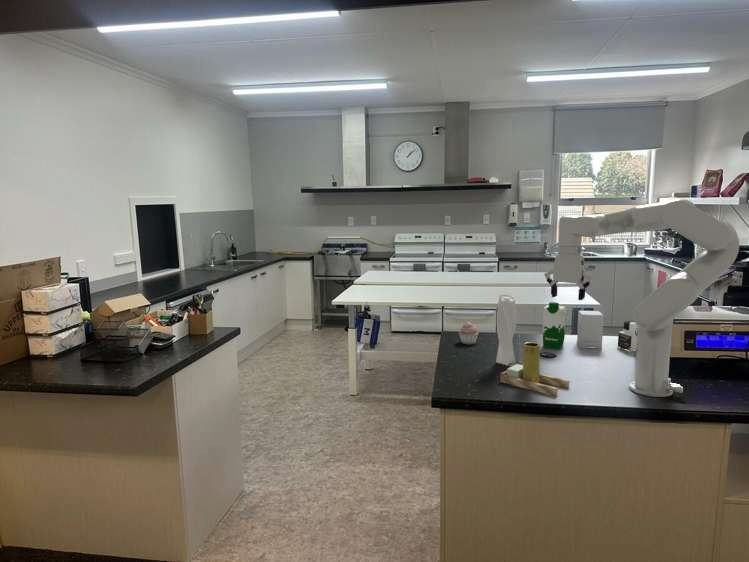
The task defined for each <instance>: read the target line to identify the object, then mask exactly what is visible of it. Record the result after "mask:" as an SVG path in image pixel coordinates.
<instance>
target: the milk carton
mask: <svg viewBox="0 0 749 562" xmlns="http://www.w3.org/2000/svg"><path fill="white" fill-rule="evenodd" d="M565 333H566V306H565V305H560V304H559V302H553V301H551V302H549V303H548V304H547V305H545V306H544V307H543V315H542V347H543V349H551V350H557V351H558V350H559V351H560V350H562V348H563V347H564V343H565V342H564V341H565V335H566V334H565ZM562 346H563V347H562Z"/></svg>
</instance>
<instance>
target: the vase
mask: <svg viewBox="0 0 749 562" xmlns="http://www.w3.org/2000/svg"><path fill="white" fill-rule="evenodd" d="M540 350H541V345H540V343H537V342H534V341H533V342H531V341H528V342H524V343H523V358H522V359H523V360H522V365H523V372H522V380H526V381H531V382H535V383H539V384H541V382H540V374H541V372H540V371H541V369H540V353H541V352H540Z"/></svg>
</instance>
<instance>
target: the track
mask: <svg viewBox="0 0 749 562" xmlns="http://www.w3.org/2000/svg"><path fill="white" fill-rule="evenodd" d="M499 382H500V383H502V382H503V383H504V384H506V383H507V385H510V384H511V386H515V387H518V388H523V389H527V390H529V389H530V390H531V391H533V390H534V391H533V392H537V391H538V393H543V394H546V395H549V394H550V396H553V395H554V397H558V393H559V392H558V391H559V389H558V387H560V386H562V387H561V388H565V387H566V389H570V382H571V381H570V380H569V379H565V378H560V377H556V376H551V375H547V374H543V373H540V384H539V383H535V382H531V381H526V380H522V379H518V378H514V377H510V376H507V369H506V370H505V371H502V372H500V380H499ZM542 383H544V384H542ZM548 384H549V385H548ZM551 385H553V386H551ZM556 385H557V387H554V386H556ZM530 390H529V391H530Z"/></svg>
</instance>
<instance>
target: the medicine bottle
mask: <svg viewBox="0 0 749 562" xmlns="http://www.w3.org/2000/svg"><path fill="white" fill-rule="evenodd" d="M636 328H638V327H637V325H636V323H635V322H634V320H625V321H624V322H623V330H622V331H618V335H617V348H618V347H620V348H619V349H621V348H623V349H622V350H624V349H627V350H629V351H633V352H635V351H634V350H637V336H636V335H635V330H636V331H637V329H636ZM629 351H628V352H629Z"/></svg>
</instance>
